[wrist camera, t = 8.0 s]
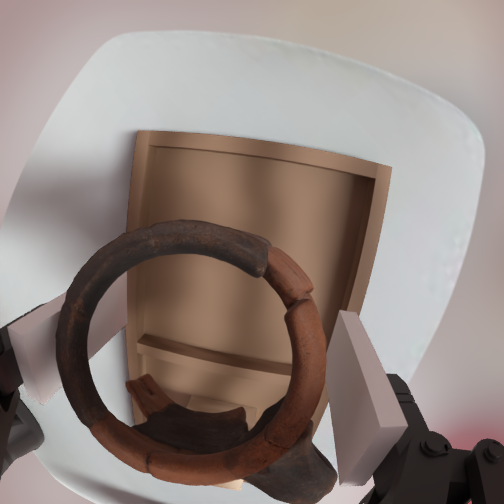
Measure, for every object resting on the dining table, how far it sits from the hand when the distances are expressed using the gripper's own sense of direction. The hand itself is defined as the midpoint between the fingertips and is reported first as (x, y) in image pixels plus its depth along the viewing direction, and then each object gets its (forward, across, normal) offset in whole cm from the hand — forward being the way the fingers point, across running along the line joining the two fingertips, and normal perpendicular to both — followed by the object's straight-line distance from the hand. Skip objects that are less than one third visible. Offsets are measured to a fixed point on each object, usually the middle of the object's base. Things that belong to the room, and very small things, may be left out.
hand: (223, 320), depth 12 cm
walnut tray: (+9, 0, -8) cm, 12 cm away
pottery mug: (0, 0, -2) cm, 2 cm away
